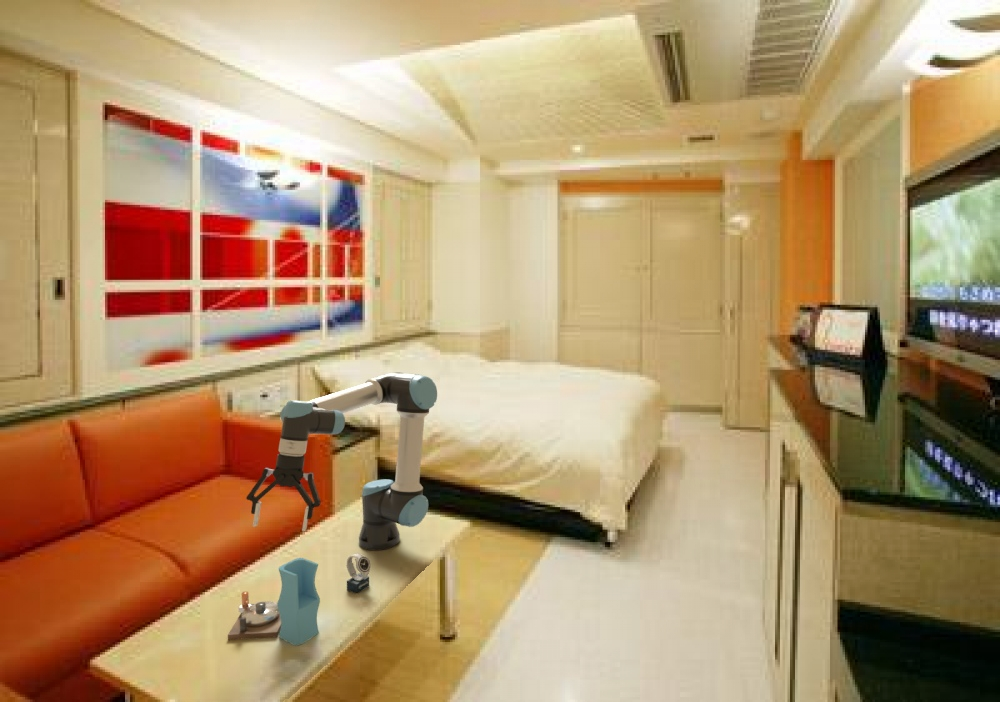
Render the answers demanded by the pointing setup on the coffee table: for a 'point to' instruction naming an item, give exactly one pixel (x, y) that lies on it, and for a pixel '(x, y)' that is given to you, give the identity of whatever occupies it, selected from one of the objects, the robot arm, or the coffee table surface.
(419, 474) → the robot arm
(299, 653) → the coffee table surface
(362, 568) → the watch
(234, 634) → the base board
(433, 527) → the coffee table surface
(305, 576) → the blue tall hollow container
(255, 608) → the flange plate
